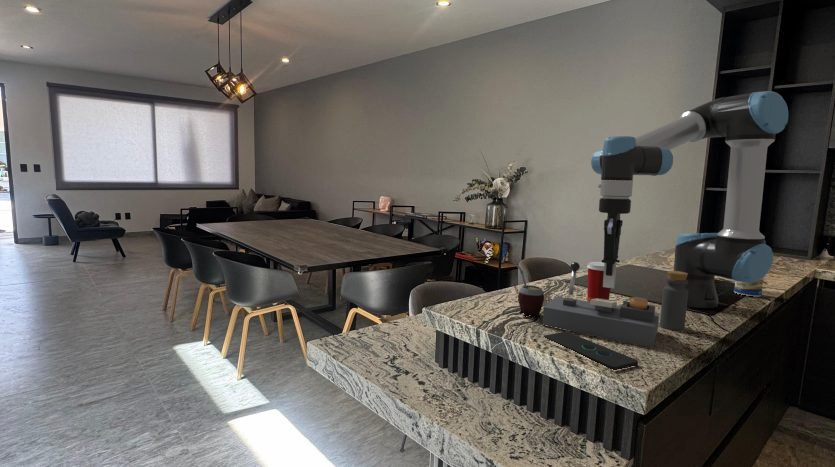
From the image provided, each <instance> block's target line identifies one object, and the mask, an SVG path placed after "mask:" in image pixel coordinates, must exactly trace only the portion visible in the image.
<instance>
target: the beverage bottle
mask: <svg viewBox="0 0 835 467" xmlns="http://www.w3.org/2000/svg"><path fill="white" fill-rule="evenodd" d="M766 243H767V242H766V240H765V241H764V244H766ZM766 245H767V244H766ZM764 278H765V276H764V277H763V278H762V279H761V280H759V281H757V282H753V283H747V282H742V281H739V282H738V281H735V280H734V281H735V282H734V288H733V292H734V293H735V294H736V293H737V295H739V294H741V295H740V296H742V295H746V296H745V297H748V296H753V297H752V298H759V297H761V296H762V294H763V285H764Z"/></svg>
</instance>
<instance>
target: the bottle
mask: <svg viewBox="0 0 835 467" xmlns="http://www.w3.org/2000/svg"><path fill="white" fill-rule="evenodd" d="M687 275H688V273H685V272H680V271H674V270H668V271H667V277H666V278H665V282H666V283H667V285H665V286H664V287H663V290H662V298H661V299H662V300H661V309H660V315H659V326H660V327H661V328H664V329H667V330H671V331H684V330H685V324H686V317H687V308H688V306H687V300H688V290H687V289H686V288H685V285H686V284H688V280H686V278H687Z"/></svg>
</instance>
